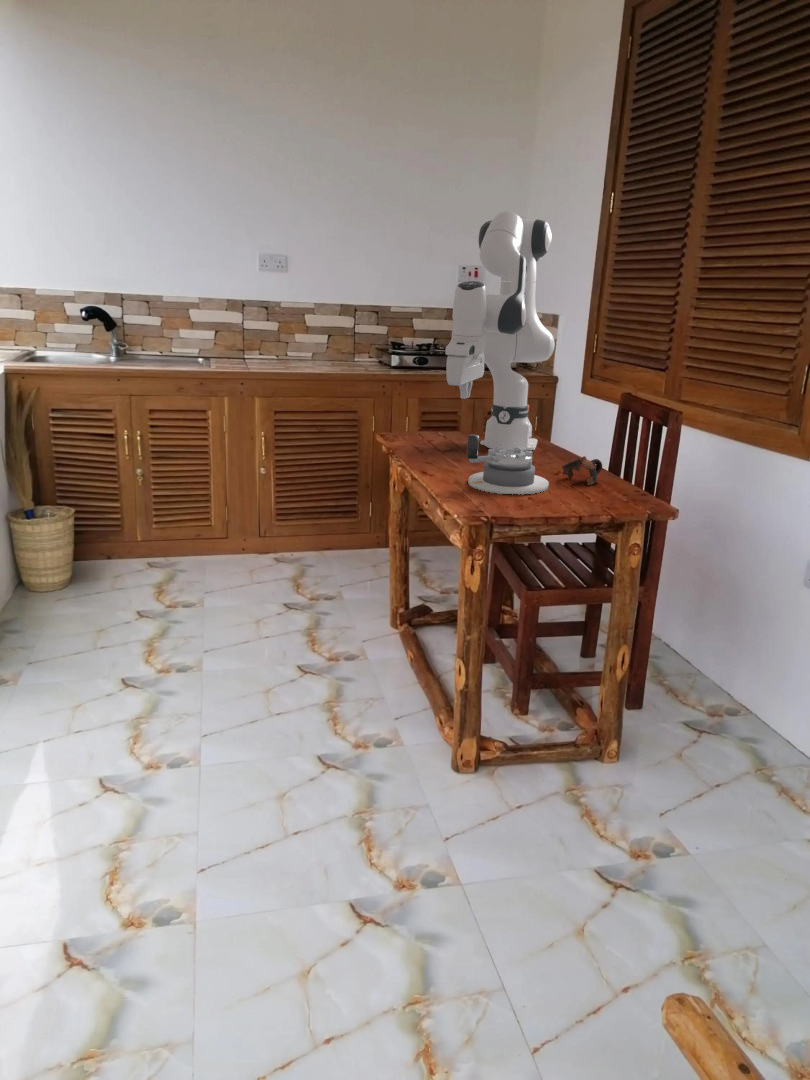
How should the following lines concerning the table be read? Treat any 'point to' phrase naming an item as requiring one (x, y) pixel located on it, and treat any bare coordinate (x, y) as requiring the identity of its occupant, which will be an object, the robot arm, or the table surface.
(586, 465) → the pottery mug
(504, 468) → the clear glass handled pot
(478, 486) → the base plate
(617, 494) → the table surface
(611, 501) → the table surface
